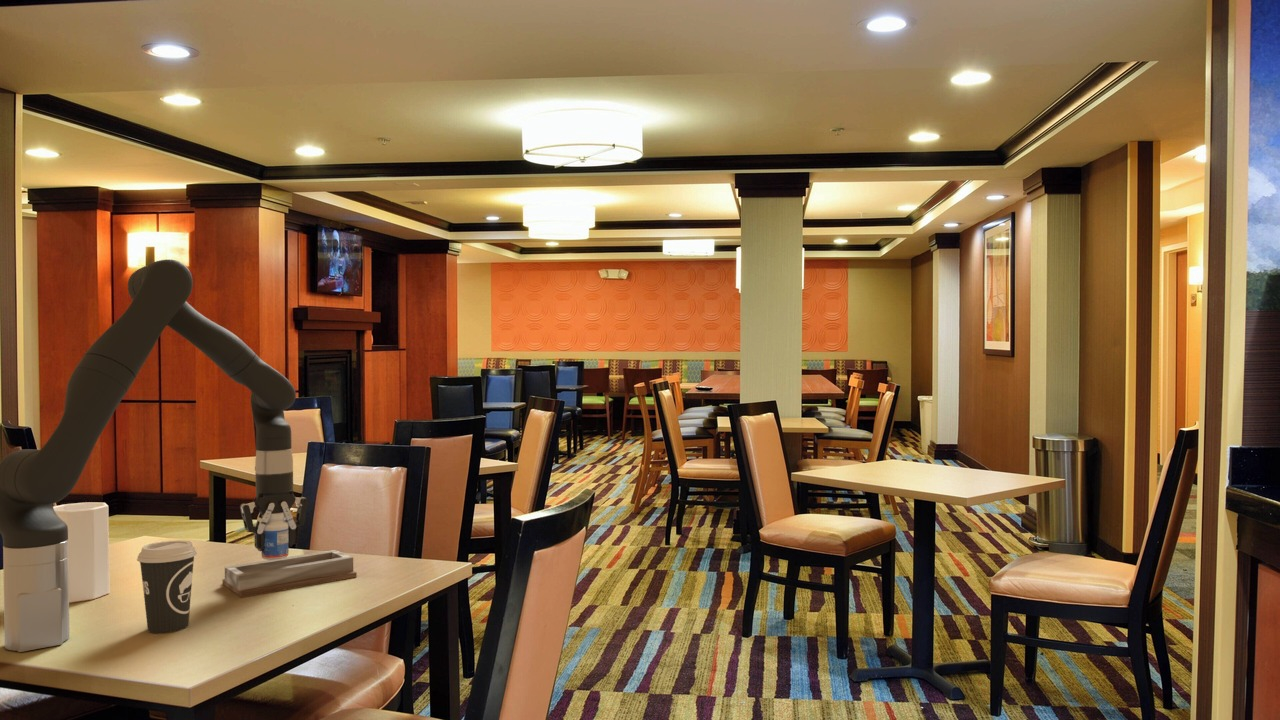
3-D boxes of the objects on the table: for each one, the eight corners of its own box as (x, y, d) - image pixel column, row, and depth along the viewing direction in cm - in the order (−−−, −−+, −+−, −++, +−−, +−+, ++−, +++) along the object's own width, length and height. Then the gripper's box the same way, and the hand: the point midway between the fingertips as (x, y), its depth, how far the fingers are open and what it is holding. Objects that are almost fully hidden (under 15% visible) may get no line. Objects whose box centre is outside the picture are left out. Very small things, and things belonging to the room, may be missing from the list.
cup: (36, 606, 173) (35, 512, 173) (58, 591, 184) (56, 503, 184) (100, 601, 176) (99, 509, 176) (117, 587, 187) (116, 500, 187)
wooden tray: (356, 577, 193) (356, 558, 193) (241, 597, 178) (241, 577, 178) (332, 565, 204) (332, 548, 204) (222, 583, 188) (222, 565, 188)
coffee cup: (184, 616, 165) (183, 537, 165) (207, 626, 159) (206, 543, 159) (129, 629, 158) (128, 546, 157) (151, 639, 152) (150, 553, 151)
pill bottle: (255, 558, 188) (255, 513, 188) (276, 553, 193) (276, 509, 192) (273, 561, 185) (273, 515, 185) (294, 556, 190) (293, 511, 190)
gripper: (244, 475, 181) (245, 556, 181) (314, 468, 191) (315, 546, 191) (233, 471, 187) (235, 550, 187) (301, 465, 196) (302, 540, 196)
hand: (275, 548), depth 189 cm, fingers closed on pill bottle, 5 cm apart
